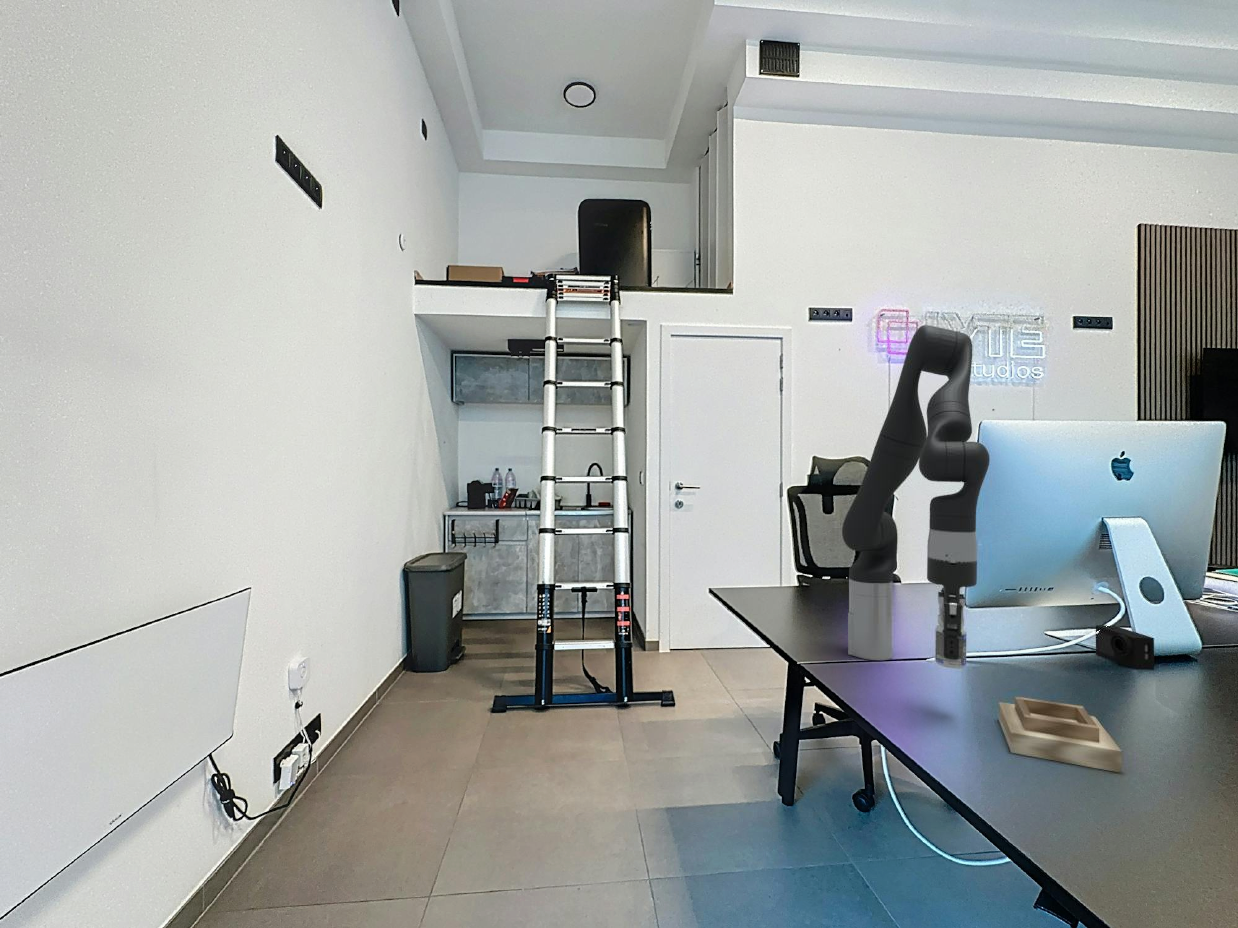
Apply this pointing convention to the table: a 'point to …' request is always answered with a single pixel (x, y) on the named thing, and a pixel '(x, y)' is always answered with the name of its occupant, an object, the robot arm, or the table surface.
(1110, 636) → the digital camera
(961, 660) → the pill bottle
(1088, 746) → the wooden base
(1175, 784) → the table surface
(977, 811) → the table surface
